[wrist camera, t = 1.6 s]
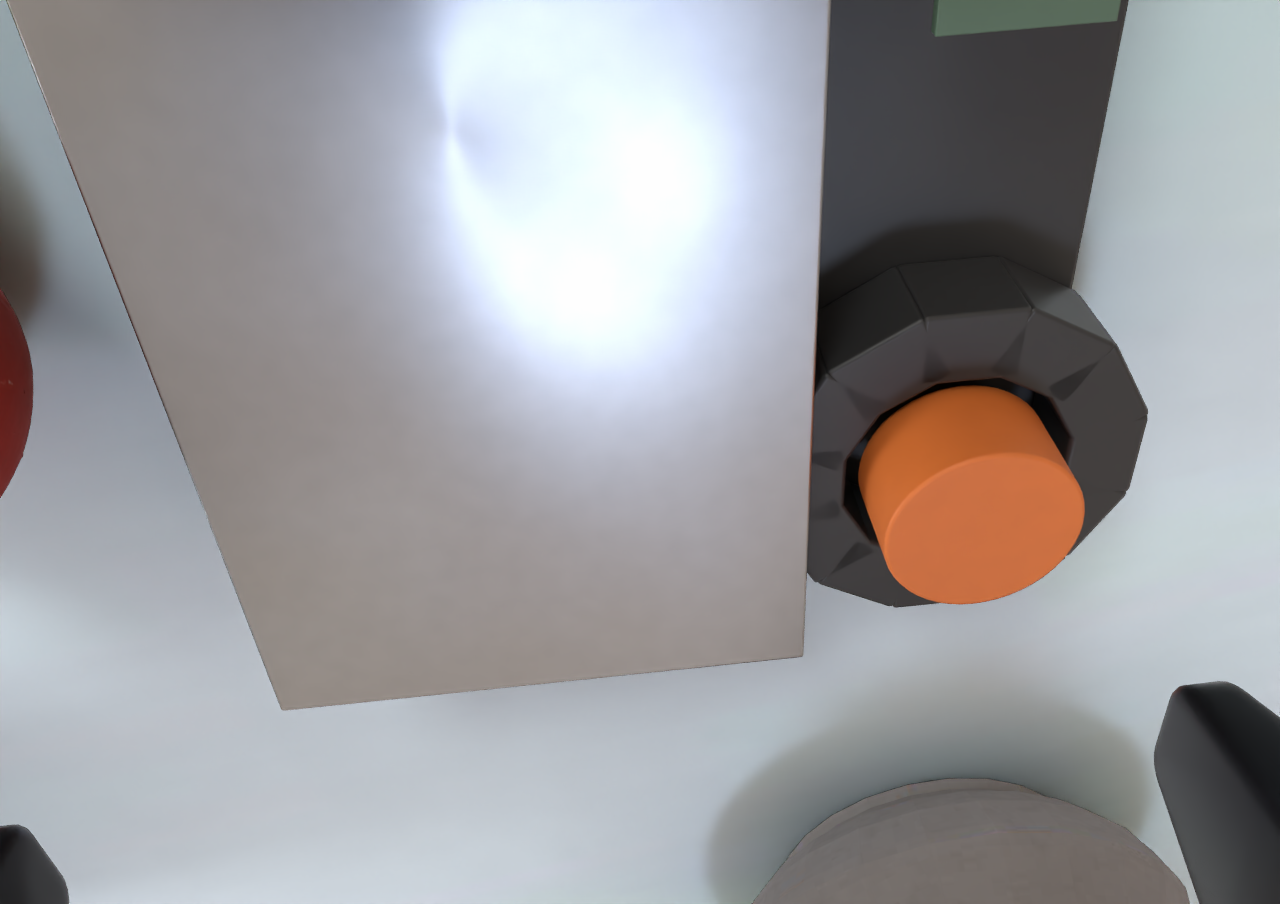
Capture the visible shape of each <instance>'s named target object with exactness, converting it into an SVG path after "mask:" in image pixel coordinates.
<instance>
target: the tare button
mask: <svg viewBox="0 0 1280 904" xmlns="http://www.w3.org/2000/svg"><path fill="white" fill-rule="evenodd" d="M858 482H859V487H860V492H861V495H862V498H863V500H864V503H865V506H866V509H867V511H868V514H869V517H870V520H871V522H872V525H873V528H874V531H875V534H876V536H877V539H878V542H879V545H880V547H881V550H882V553H883V556H884V558H885V561H886V564H887V566H888V569H889V570H890V572H891V574H892V575H893V577H894V578H895V579H896V580H897V581H898V582H899V583H900V584H901V585H902V586H903V587H905V588H906V589H907V590H909V591H910V592H912V593H914V594H915V595H917V596H920V597H922V598H925V599H927V600H931V601H935V602H940V603H947V604H973V603H980V602H986V601H990V600H994V599H998V598H1001V597H1004V596H1007V595H1010V594H1013V593H1015V592H1017V591H1020V590H1022V589H1024V588H1026V587H1027V586H1029V585H1031V584H1033V583H1035V582H1036V581H1038V580H1039V579H1041V578H1042V577H1044V576H1045V575H1046V574H1048V573H1049V572H1050V571H1051V570H1053V569H1054V568H1055V567H1056V566H1057V565H1058V564H1059V563H1060V562H1061V561H1062V560H1063V559H1064V557H1065V556H1066V555H1067V554H1068V553H1069V551H1070V550H1071V548H1072V547H1073V545H1074V544H1075V542H1076V540H1077V538H1078V536H1079V534H1080V531H1081V528H1082V525H1083V520H1084V514H1085V506H1084V498H1083V493H1082V490H1081V488H1080V486H1079V484H1078V482H1077V480H1076V479H1075V477H1074V475H1073V474H1072V472H1071V470H1070V469H1069V467H1068V465H1067V463H1066V462H1065V460H1064V458H1063V457H1062V455H1061V453H1060V452H1059V450H1058V448H1057V447H1056V445H1055V443H1054V442H1053V440H1052V438H1051V437H1050V435H1049V433H1048V432H1047V430H1046V428H1045V427H1044V425H1043V423H1042V421H1041V420H1040V418H1039V417H1038V415H1037V414H1036V412H1035V411H1034V410H1033V409H1032V408H1031V407H1030V406H1029V405H1028V403H1026V402H1025V401H1023V400H1022V399H1021V398H1019V397H1017V396H1015V395H1013V394H1011V393H1009V392H1007V391H1004V390H1001V389H998V388H994V387H988V386H979V385H966V386H956V387H949V388H945V389H941V390H937V391H934V392H931V393H929V394H926V395H923V396H921V397H919V398H917V399H915V400H913V401H911V402H909V403H908V404H906V405H904V406H903V407H901V408H900V409H899V410H897V411H896V412H895V413H893V414H892V415H891V416H890V417H889V418H887V419H886V420H885V421H884V422H883V423H882V424H881V425H880V427H879V428H878V429H877V430H876V431H875V432H874V434H873V435H872V437H871V438H870V440H869V442H868V443H867V445H866V448H865V450H864V452H863V455H862V458H861V461H860V466H859V472H858Z"/></svg>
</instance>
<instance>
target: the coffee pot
mask: <svg viewBox="0 0 1280 904" xmlns="http://www.w3.org/2000/svg"><path fill="white" fill-rule="evenodd" d="M752 904H1190V903H1189V898H1188V895H1187V891H1186V888H1185V886H1184V885H1183V884H1182V882H1181V881H1180V880H1179V878H1178V877H1177V876H1176V875H1175V874H1174V873H1173V872H1172V871H1171V870H1170V869H1169V868H1168V867H1167V866H1166V865H1165V864H1164V862H1163V861H1162V860H1161V859H1160V858H1159V857H1158V856H1157V855H1156V854H1155V853H1154V852H1153V851H1152V850H1151V849H1149V848H1148V847H1147V846H1146V845H1145V844H1144V843H1142V842H1141V841H1140V840H1139V839H1138V838H1136V837H1135V836H1134V835H1133V834H1132V833H1131V832H1129V831H1128V830H1127V829H1126V828H1124V827H1122V826H1120V825H1118V824H1116V823H1114V822H1112V821H1109V820H1107V819H1105V818H1103V817H1101V816H1099V815H1097V814H1095V813H1093V812H1090V811H1088V810H1086V809H1083V808H1081V807H1078V806H1076V805H1073V804H1070V803H1068V802H1065V801H1063V800H1060V799H1056V798H1051V797H1045V796H1043V795H1041V794H1039V793H1037V792H1035V791H1032V790H1030V789H1028V788H1026V787H1024V786H1022V785H1017V784H1012V783H1007V782H1001V781H996V780H991V779H942V780H935V781H929V782H923V783H916V784H910V785H905V786H902V787H899V788H895V789H892V790H889V791H886V792H883V793H880V794H877V795H873V796H870V797H867V798H865V799H863V800H861V801H859V802H857V803H855V804H853V805H851V806H849V807H847V808H845V809H843V810H841V811H839V812H837V813H835V814H833V815H832V816H830V817H829V818H828V819H826V820H825V821H824V822H822V823H821V824H820V825H819V826H817V827H816V828H815V829H813V830H812V831H811V832H809V833H808V834H807V835H806V836H804V838H803V839H802V840H801V842H800V843H799V844H798V845H797V847H796V848H795V849H794V850H793V852H792V853H791V854H790V855H789V857H788V858H787V860H786V862H784V863H783V864H782V866H781V867H780V868H779V869H778V871H777V872H776V873H775V874H774V876H773V877H772V878H771V880H770V881H769V882H768V883H767V885H766V886H765V887H764V888H763V890H762V891H761V892H760V894H759V895H758V896H757V898H756V899H755V900H754V902H753V903H752Z"/></svg>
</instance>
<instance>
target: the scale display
mask: <svg viewBox="0 0 1280 904" xmlns="http://www.w3.org/2000/svg"><path fill="white" fill-rule="evenodd" d="M1120 3H1121V0H934V6H933V17H932V27H931V32H932V33H933V34H934V36H935V37H941V36H952V35H964V34H975V33H986V32H998V31H1009V30H1020V29H1032V28H1043V27H1054V26H1066V25H1077V24H1088V23H1100V22H1111V21H1117V18H1118V13H1119V8H1120Z"/></svg>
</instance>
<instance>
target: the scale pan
mask: <svg viewBox="0 0 1280 904" xmlns="http://www.w3.org/2000/svg"><path fill="white" fill-rule="evenodd" d="M6 1H7V4H8V6H9V9H10V11H11V14H12V17H13V19H14V22H15V24H16V27H17V29H18V32H19V35H20V37H21V40H22V42H23V45H24V48H25V50H26V53H27V55H28V58H29V60H30V63H31V66H32V68H33V71H34V73H35V76H36V78H37V81H38V84H39V86H40V89H41V91H42V94H43V96H44V99H45V102H46V104H47V107H48V109H49V112H50V115H51V117H52V120H53V122H54V125H55V127H56V130H57V133H58V135H59V138H60V140H61V143H62V145H63V148H64V151H65V153H66V156H67V158H68V161H69V163H70V166H71V169H72V171H73V174H74V176H75V179H76V181H77V184H78V187H79V189H80V192H81V194H82V197H83V200H84V202H85V205H86V207H87V210H88V212H89V215H90V218H91V220H92V223H93V225H94V228H95V230H96V233H97V236H98V238H99V241H100V243H101V246H102V248H103V251H104V254H105V256H106V259H107V261H108V264H109V266H110V269H111V272H112V274H113V277H114V279H115V282H116V285H117V287H118V290H119V292H120V295H121V297H122V300H123V303H124V305H125V308H126V310H127V313H128V315H129V318H130V321H131V323H132V326H133V328H134V331H135V333H136V336H137V339H138V341H139V344H140V346H141V349H142V352H143V354H144V357H145V359H146V362H147V364H148V367H149V370H150V372H151V375H152V377H153V380H154V382H155V385H156V388H157V390H158V393H159V395H160V398H161V400H162V403H163V406H164V408H165V411H166V413H167V416H168V418H169V421H170V424H171V426H172V429H173V431H174V434H175V437H176V439H177V442H178V444H179V447H180V449H181V452H182V455H183V457H184V460H185V462H186V465H187V467H188V470H189V473H190V475H191V478H192V480H193V483H194V485H195V488H196V491H197V493H198V496H199V498H200V501H201V503H202V506H203V509H204V511H205V514H206V516H207V519H208V522H209V524H210V527H211V529H212V532H213V534H214V537H215V540H216V542H217V545H218V547H219V550H220V552H221V555H222V558H223V560H224V563H225V565H226V568H227V570H228V573H229V576H230V578H231V581H232V583H233V586H234V589H235V591H236V594H237V596H238V599H239V601H240V604H241V607H242V609H243V612H244V614H245V617H246V619H247V622H248V625H249V627H250V630H251V632H252V635H253V637H254V640H255V643H256V645H257V648H258V650H259V653H260V655H261V658H262V661H263V663H264V666H265V668H266V671H267V674H268V676H269V679H270V681H271V684H272V686H273V689H274V692H275V694H276V697H277V699H278V702H279V704H280V707H281V709H282V710H294V709H303V708H313V707H323V706H332V705H342V704H352V703H361V702H371V701H381V700H390V699H400V698H410V697H419V696H429V695H439V694H448V693H458V692H468V691H477V690H487V689H497V688H506V687H516V686H526V685H535V684H545V683H554V682H564V681H574V680H583V679H593V678H603V677H612V676H622V675H632V674H641V673H651V672H661V671H670V670H680V669H690V668H699V667H709V666H719V665H728V664H738V663H748V662H757V661H767V660H777V659H786V658H796V657H802V656H803V652H804V628H805V605H806V581H807V558H808V534H809V511H810V487H811V464H812V440H813V417H814V393H815V370H816V346H817V323H818V299H819V276H820V252H821V229H822V205H823V182H824V158H825V135H826V111H827V88H828V64H829V41H830V17H831V0H6Z"/></svg>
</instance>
